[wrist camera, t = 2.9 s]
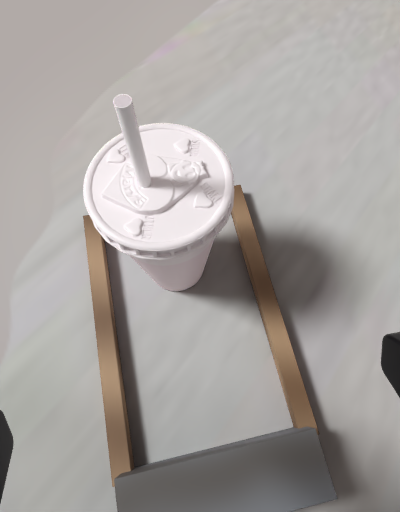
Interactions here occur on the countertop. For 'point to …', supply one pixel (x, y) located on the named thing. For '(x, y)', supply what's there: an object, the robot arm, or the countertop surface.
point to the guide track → (226, 456)
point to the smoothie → (160, 196)
